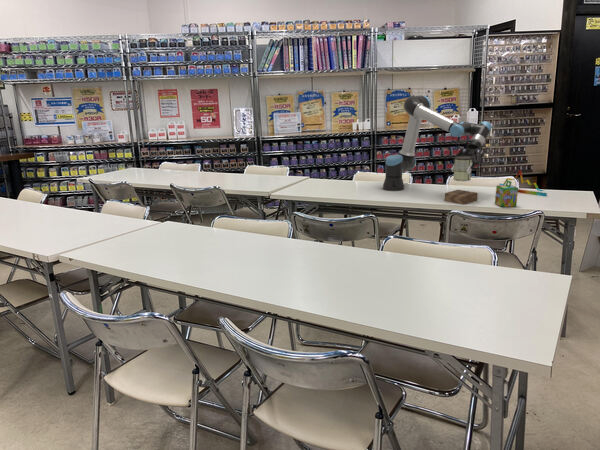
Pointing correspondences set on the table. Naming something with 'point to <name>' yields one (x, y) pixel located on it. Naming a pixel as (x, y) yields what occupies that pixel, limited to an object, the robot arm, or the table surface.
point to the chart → (529, 184)
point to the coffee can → (462, 168)
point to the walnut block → (461, 196)
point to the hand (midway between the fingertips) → (459, 171)
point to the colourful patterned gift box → (506, 195)
